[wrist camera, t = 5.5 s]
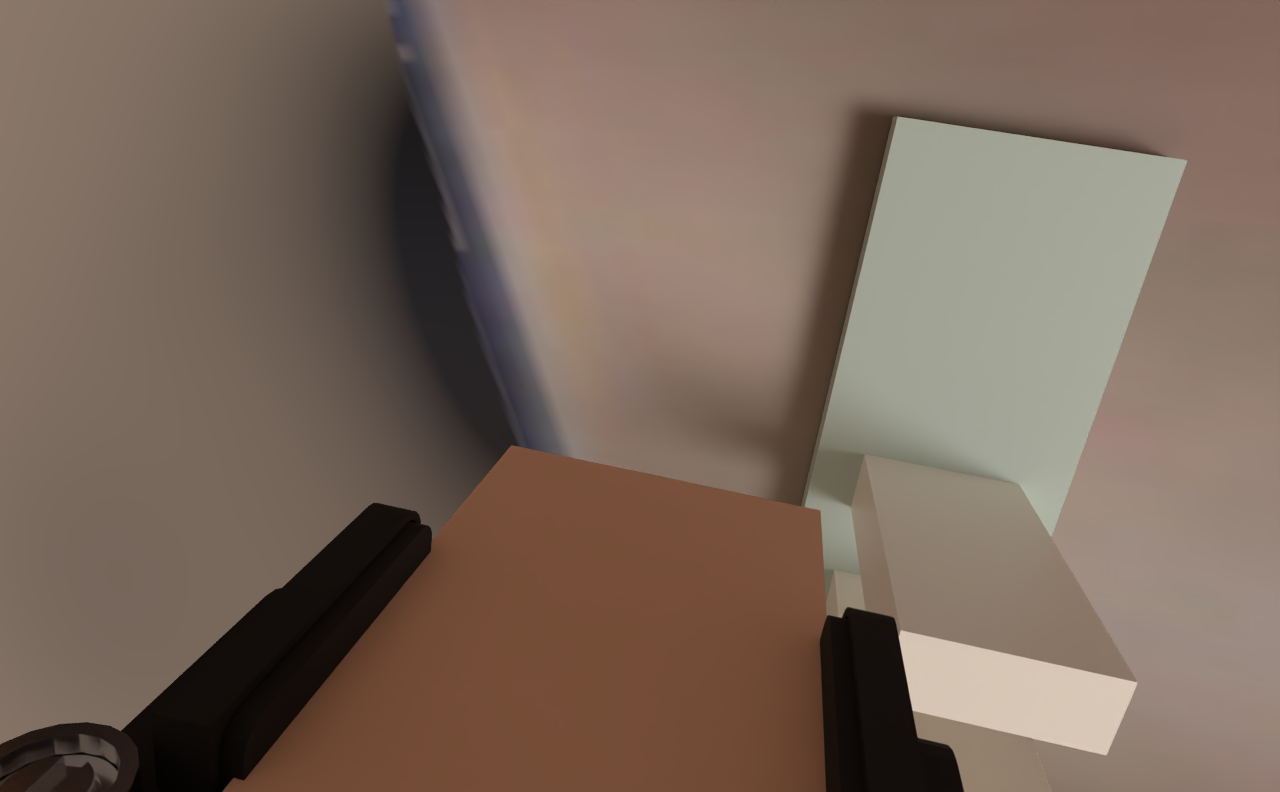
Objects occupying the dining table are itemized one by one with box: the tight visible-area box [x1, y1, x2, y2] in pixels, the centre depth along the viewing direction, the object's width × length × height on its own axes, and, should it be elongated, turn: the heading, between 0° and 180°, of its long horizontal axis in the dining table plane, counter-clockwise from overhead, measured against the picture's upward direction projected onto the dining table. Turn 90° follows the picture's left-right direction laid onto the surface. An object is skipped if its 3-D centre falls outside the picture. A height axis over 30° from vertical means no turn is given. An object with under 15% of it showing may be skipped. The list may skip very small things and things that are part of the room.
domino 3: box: [826, 570, 1052, 792], centre depth 25 cm, size 2×5×10 cm, turn 81°
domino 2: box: [851, 454, 1138, 755], centre depth 23 cm, size 2×5×10 cm, turn 82°
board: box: [801, 116, 1187, 600], centre depth 29 cm, size 27×8×1 cm, turn 172°
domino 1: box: [222, 446, 827, 792], centre depth 9 cm, size 2×5×10 cm, turn 82°
